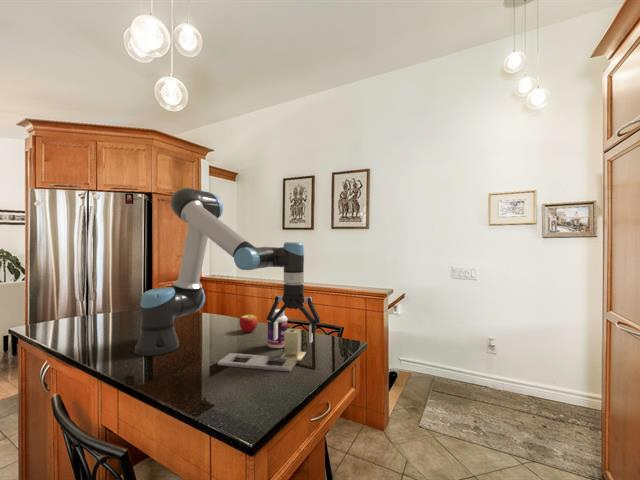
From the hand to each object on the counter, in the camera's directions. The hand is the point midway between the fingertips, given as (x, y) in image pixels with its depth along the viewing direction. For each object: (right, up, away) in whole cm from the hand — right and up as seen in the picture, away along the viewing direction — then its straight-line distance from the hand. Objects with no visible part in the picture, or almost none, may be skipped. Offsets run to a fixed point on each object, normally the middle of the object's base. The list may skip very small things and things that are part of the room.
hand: (293, 340), depth 114 cm
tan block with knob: (0, -5, 0) cm, 5 cm away
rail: (-12, -6, -7) cm, 15 cm away
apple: (-24, -6, +31) cm, 39 cm away
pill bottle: (-7, -6, +11) cm, 14 cm away
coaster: (0, -6, 0) cm, 6 cm away
